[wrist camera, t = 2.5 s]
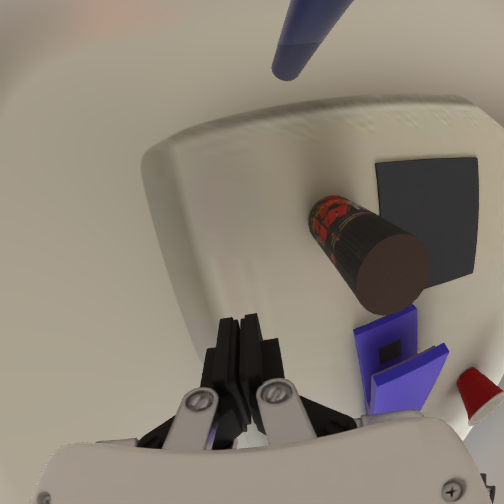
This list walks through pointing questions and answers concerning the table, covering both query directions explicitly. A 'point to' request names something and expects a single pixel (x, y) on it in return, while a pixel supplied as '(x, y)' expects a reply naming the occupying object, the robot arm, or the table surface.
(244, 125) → the table surface
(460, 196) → the mat
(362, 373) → the stapler
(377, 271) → the deodorant
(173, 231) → the table surface
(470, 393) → the plastic cup
